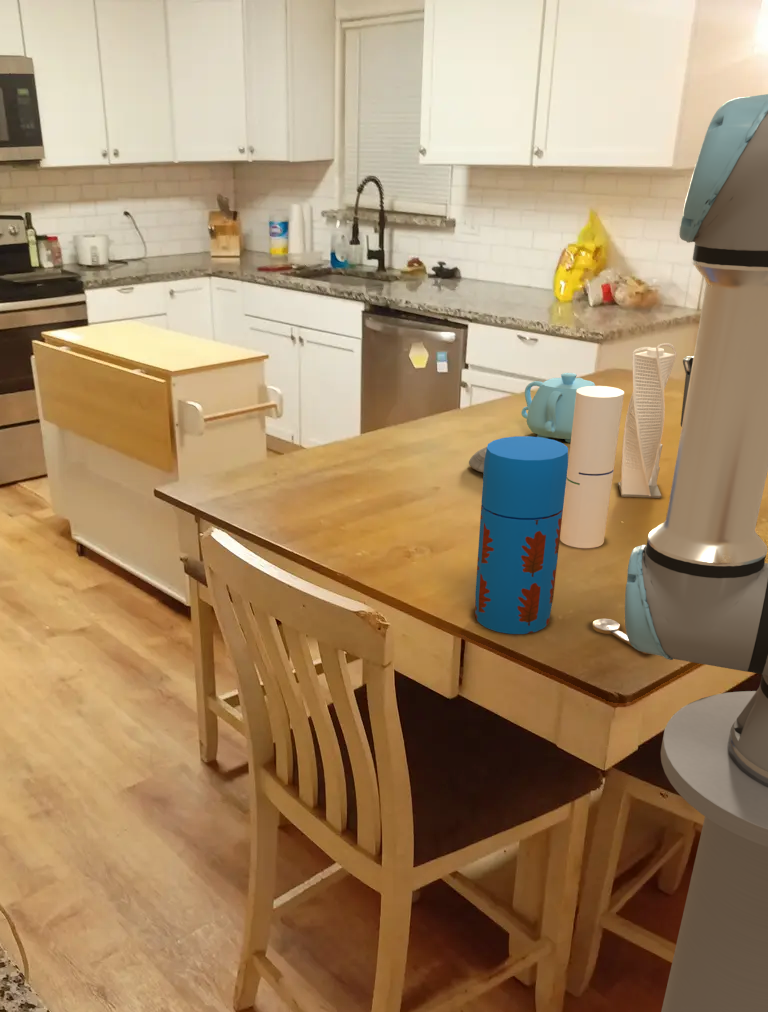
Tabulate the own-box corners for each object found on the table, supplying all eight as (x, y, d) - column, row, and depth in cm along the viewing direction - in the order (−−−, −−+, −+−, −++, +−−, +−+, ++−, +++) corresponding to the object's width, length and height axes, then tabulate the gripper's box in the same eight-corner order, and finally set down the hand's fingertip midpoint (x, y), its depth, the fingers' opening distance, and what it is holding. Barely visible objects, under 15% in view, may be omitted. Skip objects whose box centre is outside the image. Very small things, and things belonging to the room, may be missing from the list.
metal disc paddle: (658, 650, 126) (659, 646, 126) (638, 656, 125) (638, 652, 125) (606, 620, 135) (607, 616, 134) (586, 625, 133) (587, 621, 133)
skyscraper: (662, 500, 175) (687, 344, 161) (616, 499, 176) (637, 344, 163) (656, 485, 182) (679, 335, 168) (611, 484, 183) (631, 334, 170)
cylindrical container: (596, 551, 156) (617, 399, 144) (554, 543, 159) (570, 394, 147) (609, 536, 161) (629, 388, 149) (567, 529, 164) (584, 384, 152)
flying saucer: (524, 487, 183) (526, 459, 181) (455, 474, 192) (456, 447, 189) (555, 465, 194) (558, 439, 191) (489, 454, 202) (490, 429, 199)
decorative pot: (536, 448, 205) (542, 384, 198) (516, 426, 219) (521, 367, 212) (610, 444, 205) (619, 381, 199) (586, 423, 219) (593, 363, 213)
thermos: (557, 607, 138) (577, 440, 126) (542, 640, 130) (561, 464, 118) (484, 595, 143) (496, 432, 131) (464, 626, 134) (475, 455, 122)
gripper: (783, 324, 132) (722, 488, 140) (693, 303, 132) (637, 469, 140) (809, 325, 125) (744, 498, 133) (714, 303, 125) (654, 478, 132)
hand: (689, 483), depth 136 cm, fingers closed
